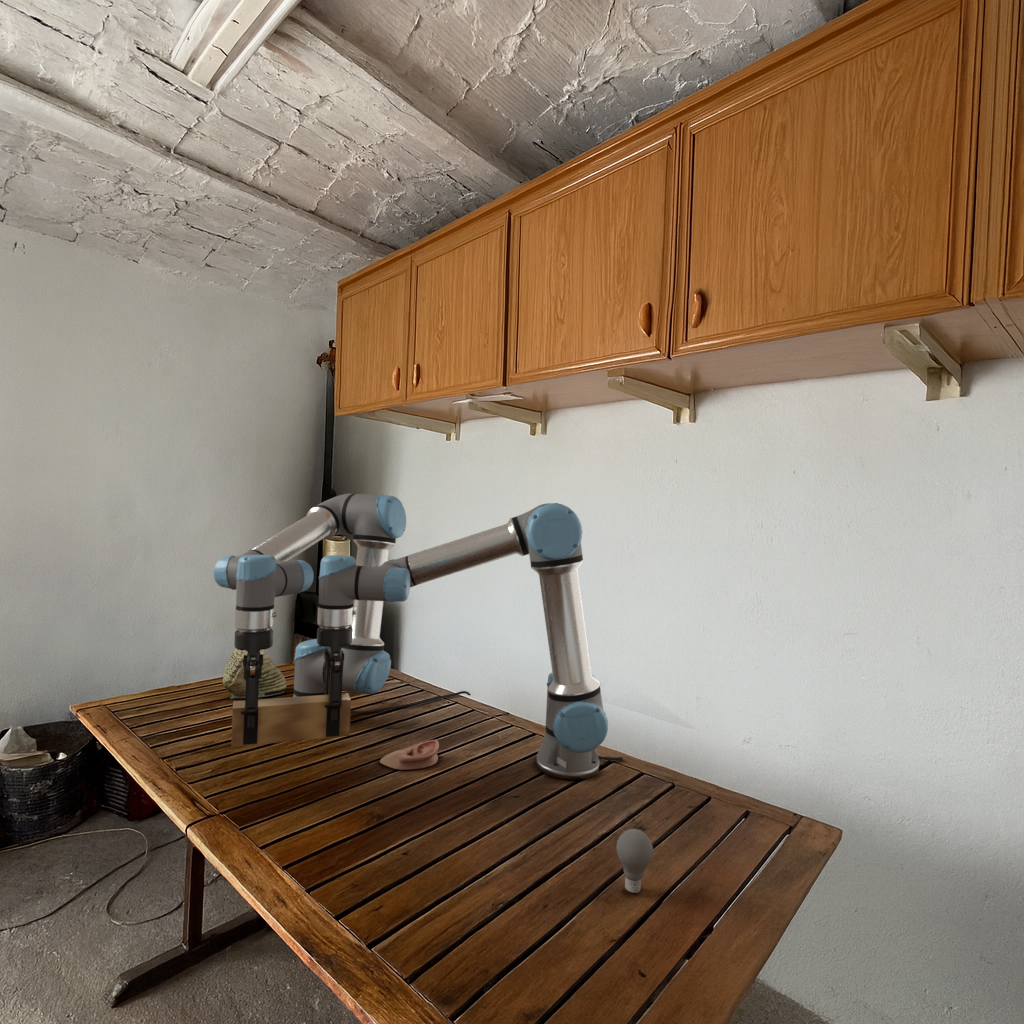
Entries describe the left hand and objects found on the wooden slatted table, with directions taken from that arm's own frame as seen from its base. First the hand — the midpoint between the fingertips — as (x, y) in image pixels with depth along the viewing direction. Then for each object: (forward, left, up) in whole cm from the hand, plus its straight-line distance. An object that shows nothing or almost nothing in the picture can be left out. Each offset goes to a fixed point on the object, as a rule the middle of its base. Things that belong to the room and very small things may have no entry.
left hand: (250, 738), depth 134 cm
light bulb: (-25, +77, -12) cm, 82 cm away
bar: (-7, +4, -1) cm, 8 cm away
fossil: (-35, -60, -12) cm, 70 cm away
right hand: (-14, +8, 0) cm, 17 cm away
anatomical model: (-35, +12, -12) cm, 39 cm away
